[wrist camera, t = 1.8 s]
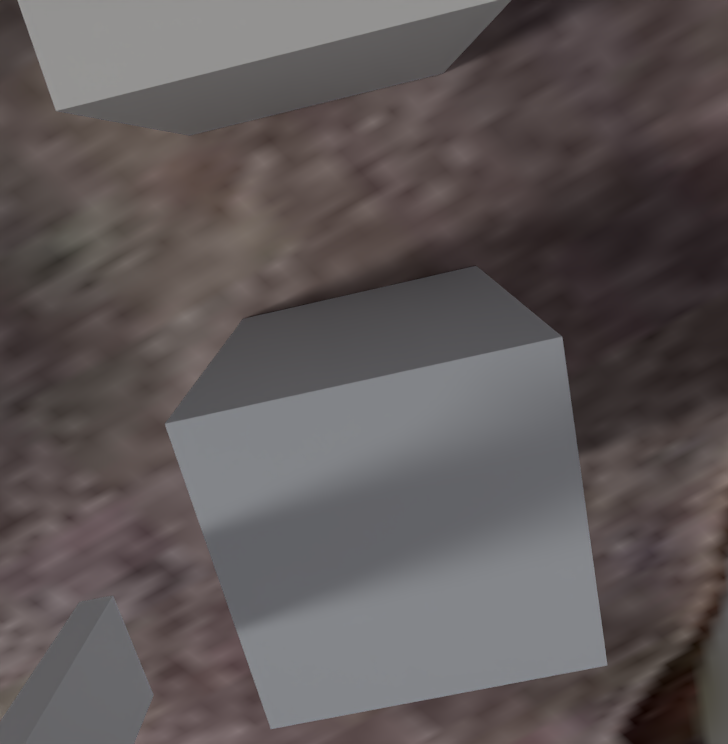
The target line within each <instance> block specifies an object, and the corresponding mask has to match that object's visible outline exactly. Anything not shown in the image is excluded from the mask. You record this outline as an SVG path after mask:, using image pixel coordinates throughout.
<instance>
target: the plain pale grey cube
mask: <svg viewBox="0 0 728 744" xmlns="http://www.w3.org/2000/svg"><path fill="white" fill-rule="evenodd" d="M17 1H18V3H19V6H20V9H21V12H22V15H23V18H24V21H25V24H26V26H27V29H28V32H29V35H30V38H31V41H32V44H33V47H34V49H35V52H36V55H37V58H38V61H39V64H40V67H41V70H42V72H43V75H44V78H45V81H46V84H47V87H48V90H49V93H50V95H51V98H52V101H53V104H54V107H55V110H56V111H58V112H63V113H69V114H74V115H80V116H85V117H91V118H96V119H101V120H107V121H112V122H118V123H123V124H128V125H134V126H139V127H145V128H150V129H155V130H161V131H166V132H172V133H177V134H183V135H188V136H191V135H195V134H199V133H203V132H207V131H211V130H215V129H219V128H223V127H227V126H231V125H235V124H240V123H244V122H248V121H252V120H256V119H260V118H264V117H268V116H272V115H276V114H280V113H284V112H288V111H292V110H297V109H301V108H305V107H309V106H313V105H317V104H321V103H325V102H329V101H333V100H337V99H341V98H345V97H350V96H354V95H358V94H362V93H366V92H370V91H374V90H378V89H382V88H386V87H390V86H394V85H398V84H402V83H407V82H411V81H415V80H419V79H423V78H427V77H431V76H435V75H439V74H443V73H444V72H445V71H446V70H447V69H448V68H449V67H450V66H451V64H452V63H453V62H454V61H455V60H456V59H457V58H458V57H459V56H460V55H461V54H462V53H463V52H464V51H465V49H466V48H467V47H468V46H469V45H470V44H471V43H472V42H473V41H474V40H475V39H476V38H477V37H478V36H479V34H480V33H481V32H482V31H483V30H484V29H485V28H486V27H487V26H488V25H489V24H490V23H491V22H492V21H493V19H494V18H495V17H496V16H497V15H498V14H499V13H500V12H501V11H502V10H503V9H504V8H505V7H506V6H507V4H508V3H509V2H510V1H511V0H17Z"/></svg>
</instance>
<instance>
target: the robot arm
mask: <svg viewBox="0 0 728 744" xmlns="http://www.w3.org/2000/svg"><path fill="white" fill-rule="evenodd" d="M152 698H153V693H152V690H151V688H150V685H149V683H148V680H147V678H146V675H145V673H144V671H143V668H142V666H141V663H140V661H139V658H138V656H137V653H136V651H135V648H134V646H133V643H132V641H131V639H130V636H129V634H128V631H127V629H126V626H125V624H124V621H123V619H122V616H121V614H120V612H119V609H118V607H117V604H116V602H115V599H114V597H113V596H108V597H103V598H97V599H92V600H87V601H82V602H79V604H78V605H77V607H76V608H75V610H74V611H73V613H72V614H71V616H70V617H69V619H68V620H67V622H66V623H65V625H64V626H63V628H62V629H61V631H60V632H59V634H58V635H57V637H56V638H55V640H54V641H53V643H52V644H51V646H50V647H49V649H48V650H47V652H46V653H45V655H44V656H43V658H42V659H41V661H40V662H39V664H38V665H37V667H36V668H35V670H34V671H33V673H32V674H31V676H30V677H29V679H28V680H27V682H26V684H25V685H24V687H23V688H22V690H21V691H20V693H19V694H18V696H17V697H16V699H15V700H14V702H13V703H12V705H11V706H10V708H9V709H8V711H7V712H6V714H5V715H4V717H3V718H2V720H1V721H0V744H134V742H135V740H136V737H137V735H138V732H139V730H140V727H141V725H142V723H143V720H144V718H145V715H146V713H147V710H148V708H149V705H150V703H151V700H152Z"/></svg>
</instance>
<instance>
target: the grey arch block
mask: <svg viewBox="0 0 728 744" xmlns="http://www.w3.org/2000/svg"><path fill="white" fill-rule="evenodd" d="M165 426H166V429H167V432H168V435H169V438H170V440H171V443H172V446H173V449H174V452H175V455H176V458H177V461H178V463H179V466H180V469H181V472H182V475H183V478H184V481H185V484H186V486H187V489H188V492H189V495H190V498H191V501H192V504H193V506H194V509H195V512H196V515H197V518H198V521H199V524H200V527H201V529H202V532H203V535H204V538H205V541H206V544H207V547H208V550H209V552H210V555H211V558H212V561H213V564H214V567H215V570H216V573H217V575H218V578H219V581H220V584H221V587H222V590H223V593H224V596H225V598H226V601H227V604H228V607H229V610H230V613H231V616H232V619H233V621H234V624H235V627H236V630H237V633H238V636H239V639H240V642H241V644H242V647H243V650H244V653H245V656H246V659H247V662H248V665H249V667H250V670H251V673H252V676H253V679H254V682H255V685H256V688H257V690H258V693H259V696H260V699H261V702H262V705H263V708H264V711H265V713H266V716H267V719H268V722H269V725H270V728H271V729H274V728H279V727H285V726H290V725H295V724H300V723H306V722H311V721H316V720H321V719H327V718H332V717H337V716H343V715H348V714H353V713H358V712H364V711H369V710H374V709H380V708H385V707H390V706H395V705H401V704H406V703H411V702H416V701H422V700H427V699H432V698H438V697H443V696H448V695H453V694H459V693H464V692H469V691H475V690H480V689H485V688H490V687H496V686H501V685H506V684H511V683H517V682H522V681H527V680H533V679H538V678H543V677H548V676H554V675H559V674H564V673H570V672H575V671H580V670H585V669H591V668H596V667H601V666H606V665H607V659H606V652H605V645H604V637H603V630H602V623H601V615H600V608H599V601H598V593H597V586H596V579H595V572H594V564H593V557H592V550H591V542H590V535H589V528H588V521H587V513H586V506H585V499H584V491H583V484H582V477H581V470H580V462H579V455H578V448H577V440H576V433H575V426H574V418H573V411H572V404H571V397H570V389H569V382H568V375H567V367H566V360H565V353H564V346H563V338H562V336H561V335H560V334H558V333H557V332H556V331H555V330H554V329H552V328H551V327H550V326H549V325H548V324H546V323H545V322H544V321H543V320H541V319H540V318H539V317H538V316H537V315H535V314H534V313H533V312H532V311H531V310H529V309H528V308H527V307H526V306H525V305H523V304H522V303H521V302H520V301H518V300H517V299H516V298H515V297H514V296H512V295H511V294H510V293H509V292H508V291H506V290H505V289H504V288H503V287H501V286H500V285H499V284H498V283H497V282H495V281H494V280H493V279H492V278H491V277H489V276H488V275H487V274H486V273H485V272H483V271H482V270H481V269H480V268H478V267H477V266H473V267H469V268H464V269H460V270H455V271H451V272H447V273H442V274H438V275H434V276H429V277H425V278H420V279H416V280H412V281H407V282H403V283H398V284H394V285H390V286H385V287H381V288H376V289H372V290H368V291H363V292H359V293H354V294H350V295H346V296H341V297H337V298H332V299H328V300H324V301H319V302H315V303H310V304H306V305H302V306H297V307H293V308H288V309H284V310H280V311H275V312H271V313H266V314H262V315H258V316H253V317H249V318H245V319H242V321H241V322H240V323H239V325H238V326H237V327H236V329H235V330H234V332H233V333H232V334H231V336H230V337H229V338H228V340H227V341H226V342H225V344H224V345H223V346H222V348H221V349H220V350H219V352H218V353H217V354H216V356H215V357H214V358H213V360H212V361H211V362H210V364H209V365H208V366H207V368H206V369H205V370H204V372H203V373H202V375H201V376H200V377H199V379H198V380H197V381H196V383H195V384H194V385H193V387H192V388H191V389H190V391H189V392H188V393H187V395H186V396H185V397H184V399H183V400H182V401H181V403H180V404H179V405H178V407H177V408H176V409H175V411H174V412H173V414H172V415H171V416H170V418H169V419H168V420H167V422H166V423H165Z"/></svg>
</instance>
